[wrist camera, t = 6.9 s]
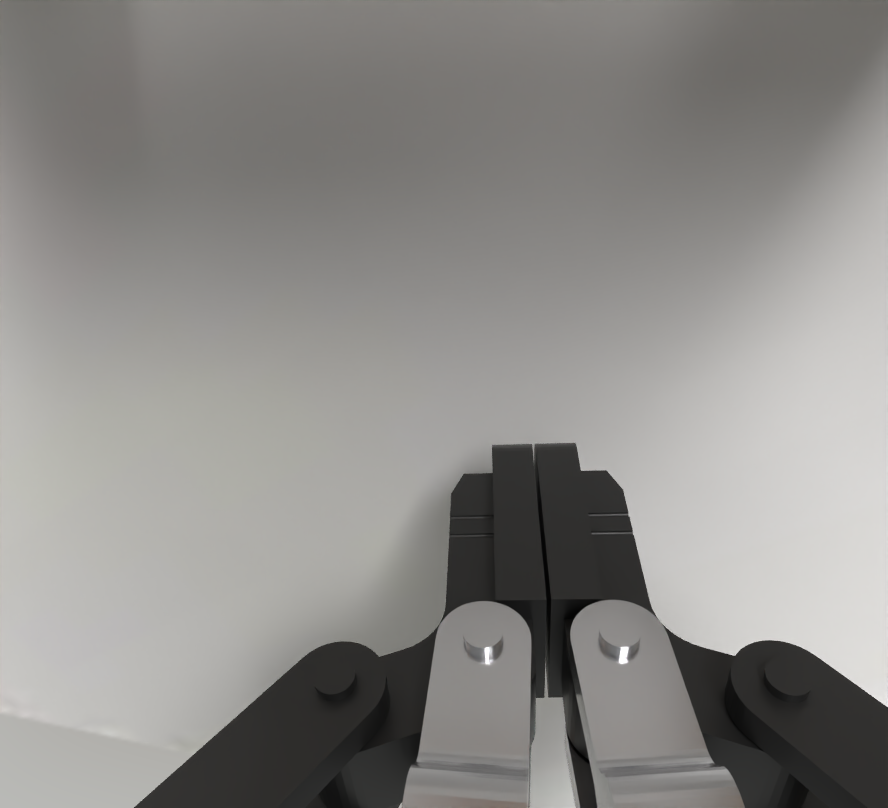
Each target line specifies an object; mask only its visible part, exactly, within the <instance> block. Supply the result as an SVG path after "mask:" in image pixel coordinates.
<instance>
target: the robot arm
mask: <svg viewBox="0 0 888 808" xmlns="http://www.w3.org/2000/svg"><path fill="white" fill-rule="evenodd" d="M492 462H493V473H483V474H464V475H463V476H462V478H461V479H460V481H459V482H458V484H457V486H456V487H455V489H454V490H453V492H452V493H451V511H450V532H449V536H450V538H449V552H448V573H447V593H446V607H445V612H444V615H443V618H442V620H441V622H440V624H439V625H438V627H437V628H436V629H435V630H434V632H433V633H431V634H430V635H429V636H428V637H427V638H426V639H424V640H423V641H421V642H420V643H418V644H416V645H414V646H412V647H409V648H407V649H404V650H401V651H398V652H394V653H391V654H388V655H384V656H381V657H378V655H377V654H376V653H375V652H373V651H372V650H371V649H369V648H368V647H366V646H364V645H361V644H358V643H354V642H334V643H330V644H326V645H323V646H321V647H318V648H317V649H315V650H313V651H311V652H310V653H309V654H307V655H306V656H305V657H303V658H302V659H301V660H300V661H299V662H298V663H297V664H295V665H294V666H293V667H292V668H291V669H290V670H289V671H288V672H286V673H285V674H284V675H283V676H282V677H281V678H280V679H279V680H277V681H276V682H275V683H274V684H273V685H272V686H271V687H270V688H268V689H267V690H266V691H265V692H264V693H263V694H262V695H261V696H259V697H258V698H257V699H256V700H255V701H254V702H253V703H251V704H250V705H249V706H248V707H247V708H246V709H245V710H244V711H242V712H241V713H240V714H239V715H238V716H237V717H236V718H235V719H233V720H232V721H231V722H230V723H229V724H228V725H227V726H226V727H224V728H223V729H222V730H221V731H220V732H219V733H218V734H217V735H215V736H214V737H213V738H212V739H211V740H210V741H209V742H207V743H206V744H205V745H204V746H203V747H202V748H201V749H200V750H198V751H197V752H196V753H195V754H194V755H193V756H192V757H191V758H189V759H188V760H187V761H186V762H185V763H184V764H183V765H182V766H180V767H179V768H178V769H177V770H176V771H175V772H174V773H173V774H171V775H170V776H169V777H168V778H167V779H166V780H165V781H164V782H162V783H161V784H160V785H159V786H158V787H157V788H156V789H155V790H153V791H152V792H151V793H150V794H149V795H148V796H147V797H145V798H144V799H143V800H142V801H141V802H140V803H139V804H138V805H137V806H136V807H134V808H398V807H399V805H400V803H402V802H403V803H402V808H530V767H531V744H532V742H533V740H534V735H535V704H536V698H544V688H545V662H546V674H547V685H548V697H563V703H564V713H565V722H566V724H565V750H566V756H567V761H568V767H569V773H570V778H571V784H572V789H573V795H574V801H575V806H576V808H888V707H886V706H885V705H883V704H882V703H881V702H879V701H878V700H876V699H875V698H874V697H872V696H871V695H869V694H868V693H867V692H865V691H864V690H863V689H861V688H860V687H858V686H857V685H856V684H854V683H853V682H851V681H850V680H849V679H847V678H846V677H844V676H843V675H842V674H840V673H839V672H837V671H836V670H835V669H833V668H832V667H830V666H829V665H828V664H826V663H825V662H823V661H822V660H821V659H819V658H818V657H816V656H815V655H813V654H812V653H810V652H809V651H807V650H805V649H803V648H801V647H799V646H796V645H793V644H790V643H786V642H781V641H772V640H769V641H759V642H754V643H752V644H749V645H747V646H745V647H744V648H742V649H741V650H740V651H739V652H738V653H737V654H736V656H732V655H729V654H725V653H721V652H717V651H714V650H710V649H706V648H703V647H700V646H697V645H694V644H691V643H689V642H687V641H685V640H683V639H681V638H679V637H678V636H676V635H674V634H673V633H672V632H671V631H669V630H668V629H667V628H666V627H665V626H664V625H663V624H662V623H661V622H660V621H659V619H658V618H657V617H656V615H655V613H654V611H653V610H652V607H651V604H650V601H649V597H648V593H647V588H646V584H645V580H644V576H643V572H642V568H641V563H640V559H639V555H638V551H637V547H636V542H635V538H634V535H633V530H632V526H631V522H630V517H629V516H628V509H627V505H626V501H625V496H624V492H623V489H622V488H621V487H620V486H619V485H618V484H617V482H616V481H615V480H614V479H613V478H612V477H611V475H610V474H609V473H608V472H607V471H581V470H580V464H579V458H578V453H577V447H576V444H575V443H550V444H535V448H534V461H533V450H532V444H518V445H492Z"/></svg>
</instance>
